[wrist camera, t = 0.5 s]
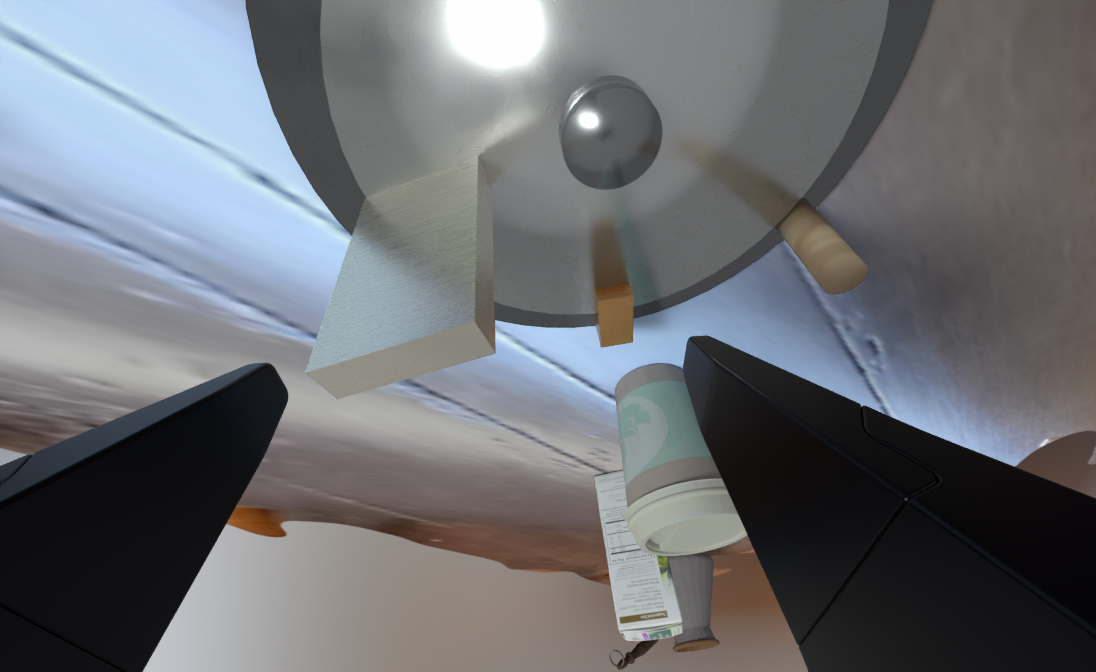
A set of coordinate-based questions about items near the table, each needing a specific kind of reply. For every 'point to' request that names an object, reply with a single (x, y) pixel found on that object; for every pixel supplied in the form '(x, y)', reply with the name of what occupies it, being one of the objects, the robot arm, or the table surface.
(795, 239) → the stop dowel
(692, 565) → the coffee pot
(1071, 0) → the table surface
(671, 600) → the syrup box
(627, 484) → the coffee cup
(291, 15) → the grey round disc
